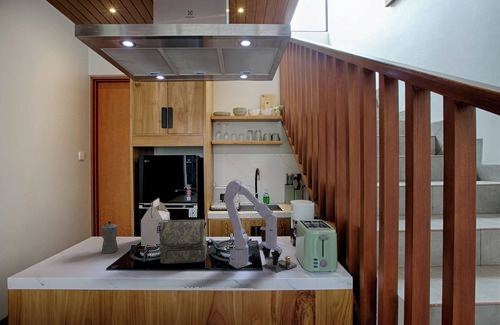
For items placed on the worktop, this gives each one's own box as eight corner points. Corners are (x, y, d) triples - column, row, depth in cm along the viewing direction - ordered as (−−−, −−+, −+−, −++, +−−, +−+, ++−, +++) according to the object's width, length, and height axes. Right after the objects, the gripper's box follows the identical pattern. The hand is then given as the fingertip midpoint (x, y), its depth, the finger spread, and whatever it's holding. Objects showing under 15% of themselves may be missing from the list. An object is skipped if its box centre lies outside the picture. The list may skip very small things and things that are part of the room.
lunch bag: (154, 265, 145) (154, 223, 144) (163, 253, 163) (162, 216, 162) (205, 264, 147) (205, 222, 146) (208, 252, 165) (208, 215, 164)
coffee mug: (268, 246, 175) (268, 230, 174) (257, 244, 180) (257, 228, 179) (278, 242, 184) (278, 227, 184) (267, 239, 189) (267, 225, 189)
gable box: (150, 237, 194) (149, 197, 194) (169, 237, 196) (169, 197, 195) (141, 248, 172) (140, 202, 172) (163, 247, 174) (162, 202, 173)
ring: (270, 268, 141) (270, 260, 141) (263, 264, 145) (263, 257, 145) (278, 265, 144) (278, 258, 144) (271, 262, 149) (271, 255, 149)
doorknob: (287, 269, 139) (287, 260, 139) (278, 265, 144) (278, 256, 144) (296, 266, 143) (297, 257, 143) (287, 262, 148) (287, 253, 148)
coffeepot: (122, 252, 165) (121, 221, 164) (104, 256, 158) (104, 224, 158) (113, 246, 176) (112, 217, 176) (96, 249, 169) (96, 220, 169)
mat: (276, 273, 135) (276, 273, 135) (262, 266, 144) (262, 265, 144) (296, 266, 143) (296, 266, 143) (281, 260, 152) (281, 259, 152)
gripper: (286, 238, 141) (286, 265, 141) (267, 232, 153) (267, 257, 153) (276, 241, 137) (276, 269, 137) (257, 234, 148) (257, 260, 149)
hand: (271, 263), depth 145 cm, fingers closed on ring, 6 cm apart
